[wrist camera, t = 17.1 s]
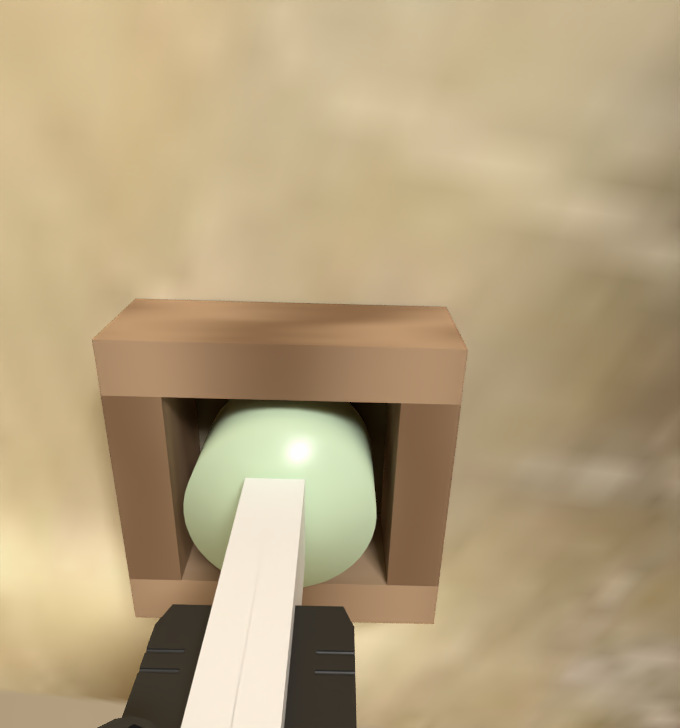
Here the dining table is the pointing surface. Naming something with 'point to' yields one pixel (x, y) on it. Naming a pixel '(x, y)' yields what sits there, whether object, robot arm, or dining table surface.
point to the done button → (288, 477)
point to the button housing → (282, 382)
